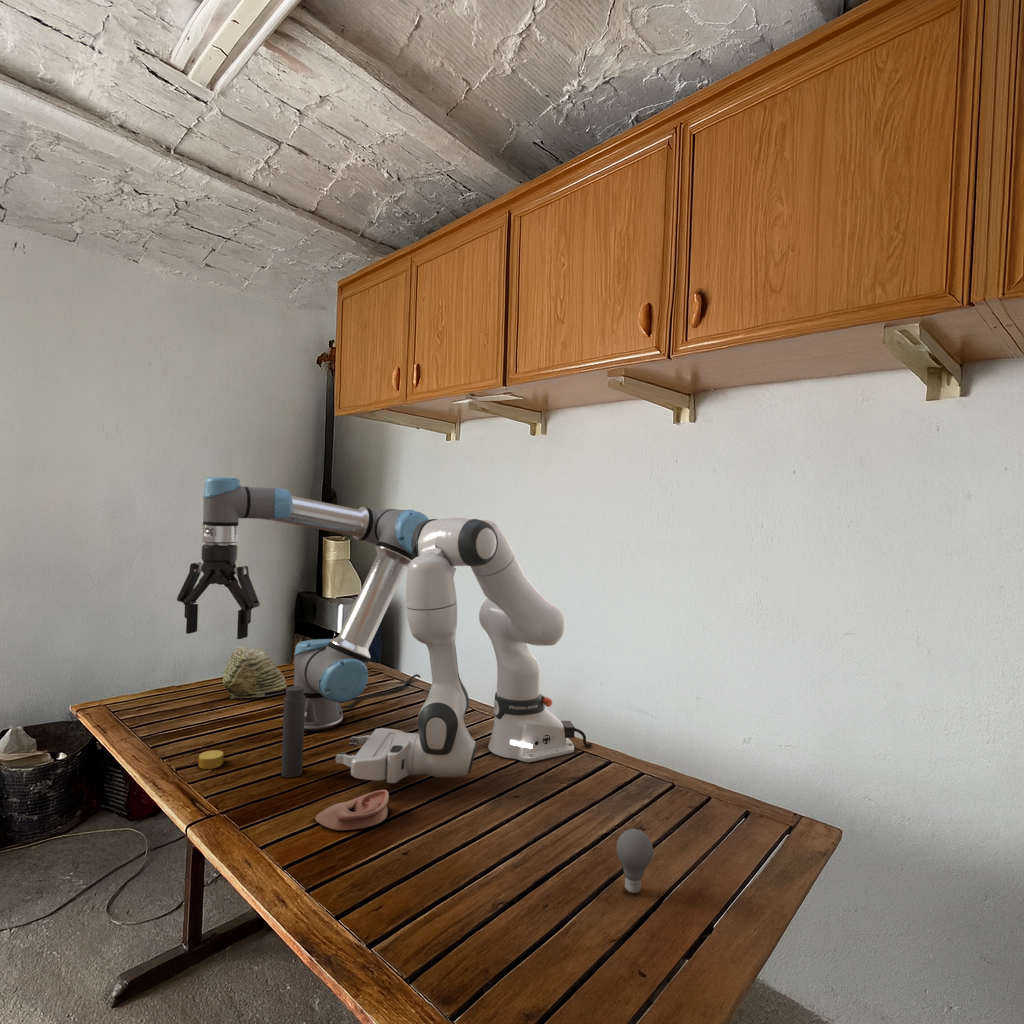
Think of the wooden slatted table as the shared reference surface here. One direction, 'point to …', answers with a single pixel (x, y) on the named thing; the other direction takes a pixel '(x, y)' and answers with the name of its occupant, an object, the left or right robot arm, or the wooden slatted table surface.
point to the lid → (210, 759)
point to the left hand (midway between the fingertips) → (216, 635)
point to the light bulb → (634, 857)
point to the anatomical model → (356, 812)
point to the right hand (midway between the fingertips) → (343, 749)
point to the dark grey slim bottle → (293, 732)
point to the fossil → (252, 674)
